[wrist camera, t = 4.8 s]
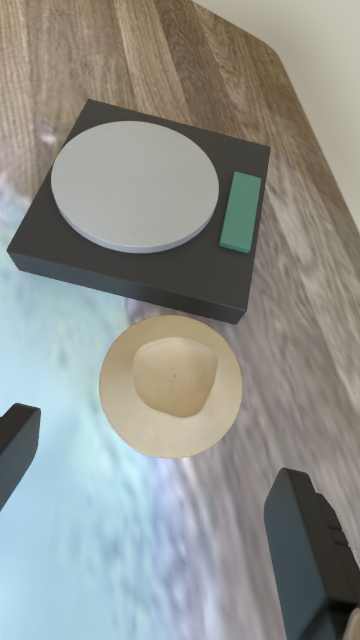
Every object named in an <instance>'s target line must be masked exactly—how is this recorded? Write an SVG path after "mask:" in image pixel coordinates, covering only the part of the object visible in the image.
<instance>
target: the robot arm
mask: <svg viewBox="0 0 360 640" xmlns="http://www.w3.org/2000/svg"><path fill="white" fill-rule="evenodd" d="M40 418H41V409H40V408H37V407H32V406H28V405H24V404H20V403H15V404H14V405H12V406H11V408H10V409H9V410H8V411H7V412H6V413H5V414H4V415H3V416H2V417H0V511H1V510H2V508H3V506H4V505H5V503H6V502H7V500H8V499H9V497H10V496H11V494H12V493H13V491H14V489H15V488H16V486H17V485H18V483H19V482H20V480H21V479H22V477H23V475H24V474H25V472H26V471H27V469H28V468H29V466H30V464H31V463H32V461H33V459H34V456H35V454H36V451H37V447H38V439H39V428H40ZM264 522H265V527H266V533H267V538H268V543H269V548H270V553H271V559H272V564H273V569H274V574H275V579H276V585H277V590H278V595H279V600H280V605H281V611H282V616H283V621H284V626H285V631H286V636H287V640H360V570H359V567H358V565H357V563H356V560H355V558H354V556H353V553H352V551H351V549H350V547H348V541H347V539H346V537H345V534H344V532H342V527H341V525H340V523H339V520H338V518H337V515H336V513H335V511H334V509H333V508H332V507H331V506H330V504H329V503H328V502H327V500H326V499H325V498H324V496H323V495H322V494H319V493H316V492H315V490H314V487H313V485H312V482H311V479H310V477H309V475H308V474H307V473H305V472H301V471H296V470H292V469H288V468H282V469H281V470H280V471H279V473H278V475H277V477H276V480H275V482H274V484H273V486H272V488H271V490H270V492H269V494H268V496H267V499H266V501H265V506H264Z"/></svg>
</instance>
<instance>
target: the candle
mask: <svg viewBox="0 0 360 640" xmlns="http://www.w3.org/2000/svg"><path fill="white" fill-rule="evenodd" d="M99 388H100V398H101V403H102V406H103V410H104V413H105V415H106V417H107V419H108V421H109V423H110V424H111V426H112V427H113V429H114V430H115V431H116V432H117V434H118V435H119V436H120V437H121V438H122V439H123V440H124V441H125V442H126V443H127V444H128V445H129V446H130V447H131V448H133V449H134V450H136V451H137V452H139V453H141V454H144V455H147V456H151V457H159V458H183V457H188V456H192V455H195V454H198V453H200V452H202V451H204V450H206V449H208V448H209V447H211V446H213V445H214V444H215V443H216V442H218V441H219V440H220V439H221V438H222V437H223V436H224V435H225V434H226V432H227V431H228V430H229V428H230V427H231V425H232V424H233V422H234V420H235V418H236V416H237V414H238V411H239V408H240V404H241V399H242V377H241V372H240V368H239V365H238V362H237V359H236V357H235V355H234V353H233V351H232V350H231V348H230V347H229V345H228V344H227V343H226V341H225V340H224V339H223V338H222V337H221V336H220V335H219V334H218V333H217V332H216V331H214V330H213V329H212V328H210V327H209V326H207V325H205V324H204V323H202V322H200V321H197V320H195V319H192V318H188V317H184V316H178V315H161V316H156V317H151V318H148V319H145V320H142V321H140V322H138V323H136V324H134V325H133V326H131V327H130V328H128V329H127V330H126V331H125V332H123V333H122V334H121V335H120V336H119V337H118V338H117V339H116V340H115V342H114V343H113V345H112V346H111V347H110V349H109V351H108V353H107V355H106V357H105V359H104V362H103V365H102V369H101V373H100V382H99Z"/></svg>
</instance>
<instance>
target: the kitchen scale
mask: <svg viewBox="0 0 360 640" xmlns="http://www.w3.org/2000/svg"><path fill="white" fill-rule="evenodd" d="M270 149H271V148H270V147H268V146H264V145H260V144H257V143H253V142H249V141H245V140H242V139H238V138H234V137H230V136H227V135H223V134H219V133H215V132H211V131H208V130H204V129H200V128H196V127H193V126H189V125H185V124H181V123H178V122H174V121H170V120H166V119H163V118H159V117H155V116H151V115H147V114H144V113H140V112H136V111H132V110H129V109H125V108H121V107H117V106H114V105H110V104H106V103H102V102H98V101H95V100H91V99H88V100H87V102H86V104H85V106H84V108H83V110H82V111H81V113H80V115H79V117H78V119H77V121H76V123H75V124H74V126H73V128H72V130H71V132H70V134H69V136H68V137H67V139H66V141H65V143H64V145H63V147H62V148H61V150H60V152H59V154H58V156H57V158H56V160H55V161H54V163H53V165H52V167H51V169H50V171H49V172H48V174H47V176H46V178H45V180H44V182H43V184H42V185H41V187H40V189H39V191H38V193H37V195H36V196H35V198H34V200H33V202H32V204H31V206H30V208H29V209H28V211H27V213H26V215H25V217H24V219H23V221H22V222H21V224H20V226H19V228H18V230H17V232H16V233H15V235H14V237H13V239H12V241H11V243H10V245H9V246H8V248H7V252H8V254H9V255H10V257H11V258H12V260H13V262H14V263H15V265H16V266H17V268H18V269H19V270H21V271H25V272H29V273H33V274H37V275H41V276H45V277H49V278H53V279H57V280H61V281H65V282H69V283H73V284H77V285H81V286H85V287H89V288H93V289H97V290H101V291H105V292H109V293H113V294H117V295H121V296H125V297H129V298H133V299H137V300H141V301H145V302H149V303H153V304H157V305H161V306H165V307H169V308H173V309H176V310H180V311H184V312H188V313H192V314H196V315H200V316H204V317H208V318H212V319H216V320H220V321H224V322H228V323H232V324H237V323H238V322H239V320H240V319H241V318H242V316H243V315H244V314H245V312H246V311H247V305H248V298H249V292H250V285H251V278H252V271H253V264H254V258H255V251H256V244H257V237H258V230H259V224H260V217H261V210H262V203H263V196H264V190H265V183H266V176H267V169H268V162H269V156H270Z"/></svg>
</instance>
